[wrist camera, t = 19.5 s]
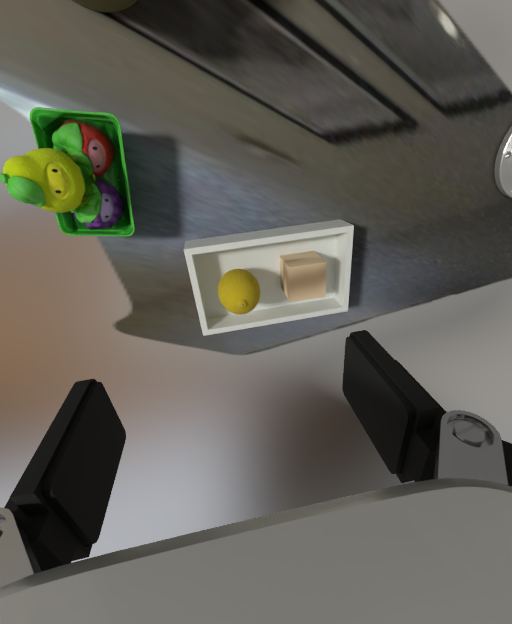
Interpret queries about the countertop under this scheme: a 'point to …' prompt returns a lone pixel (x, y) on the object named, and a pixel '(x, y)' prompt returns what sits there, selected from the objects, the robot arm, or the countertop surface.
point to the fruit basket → (75, 172)
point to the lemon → (239, 291)
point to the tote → (269, 273)
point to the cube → (303, 276)
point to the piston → (106, 4)
